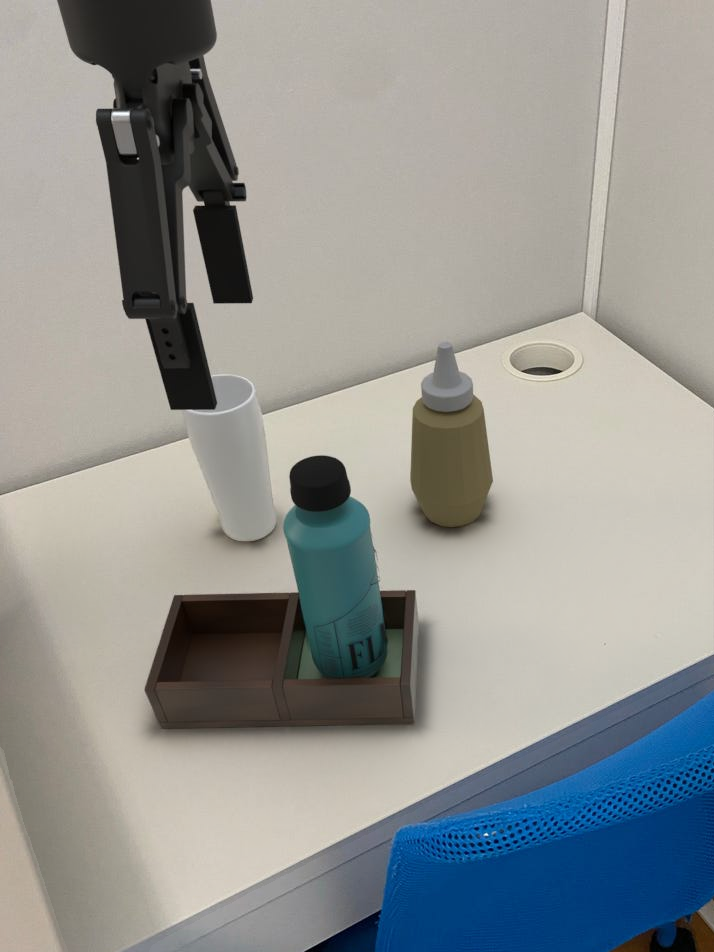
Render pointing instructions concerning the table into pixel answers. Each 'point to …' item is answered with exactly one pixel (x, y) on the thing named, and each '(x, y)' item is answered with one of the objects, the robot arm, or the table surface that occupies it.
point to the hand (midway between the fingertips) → (215, 350)
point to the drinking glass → (234, 458)
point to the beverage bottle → (335, 570)
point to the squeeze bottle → (449, 445)
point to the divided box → (273, 666)
